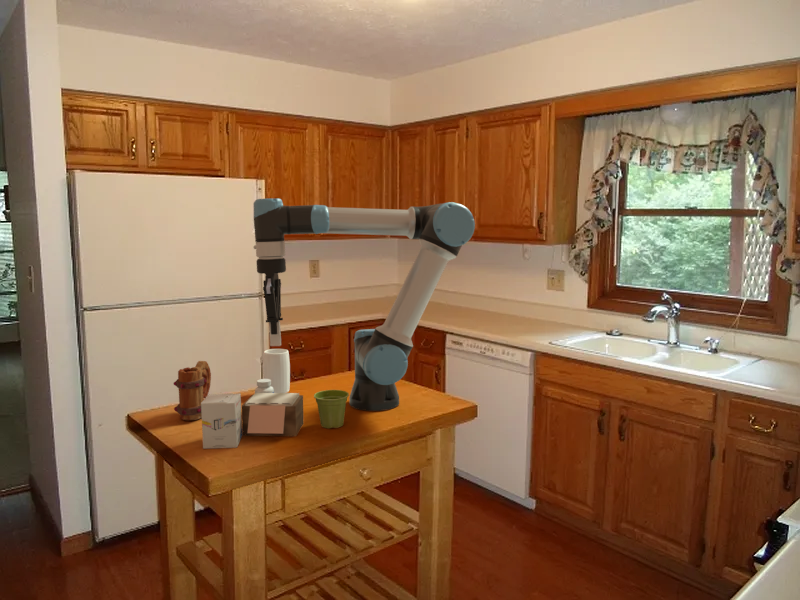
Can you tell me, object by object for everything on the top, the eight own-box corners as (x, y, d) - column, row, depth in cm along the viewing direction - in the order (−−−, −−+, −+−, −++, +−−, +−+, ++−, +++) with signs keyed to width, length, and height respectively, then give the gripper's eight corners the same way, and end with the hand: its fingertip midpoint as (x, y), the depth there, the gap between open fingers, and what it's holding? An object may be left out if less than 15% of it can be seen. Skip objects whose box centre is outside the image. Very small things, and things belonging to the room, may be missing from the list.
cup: (287, 398, 193) (286, 354, 192) (261, 398, 193) (259, 354, 192) (292, 390, 202) (291, 348, 200) (267, 390, 202) (265, 348, 200)
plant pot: (335, 433, 162) (334, 401, 160) (307, 427, 167) (306, 395, 165) (356, 423, 169) (355, 392, 168) (329, 417, 174) (328, 387, 173)
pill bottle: (264, 409, 182) (263, 377, 181) (278, 411, 180) (277, 379, 179) (251, 414, 178) (250, 381, 176) (265, 417, 175) (264, 383, 174)
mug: (196, 424, 169) (194, 371, 167) (169, 422, 170) (166, 369, 168) (222, 408, 183) (220, 359, 181) (197, 407, 184) (194, 358, 182)
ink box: (209, 437, 159) (207, 393, 158) (243, 436, 160) (241, 392, 158) (201, 449, 151) (199, 402, 149) (237, 448, 151) (235, 402, 150)
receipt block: (303, 423, 169) (302, 392, 168) (296, 436, 159) (295, 403, 158) (253, 423, 170) (252, 392, 169) (242, 435, 160) (241, 403, 159)
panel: (285, 406, 158) (284, 405, 157) (283, 433, 156) (282, 433, 155) (250, 405, 158) (250, 405, 158) (247, 433, 156) (247, 433, 155)
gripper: (261, 256, 169) (266, 341, 172) (251, 259, 156) (256, 351, 159) (288, 255, 169) (293, 340, 172) (280, 259, 156) (285, 350, 159)
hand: (275, 345), depth 165 cm, fingers closed
